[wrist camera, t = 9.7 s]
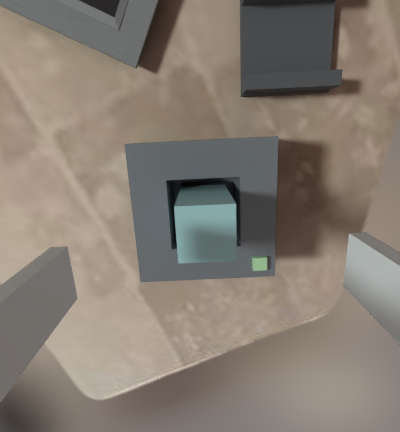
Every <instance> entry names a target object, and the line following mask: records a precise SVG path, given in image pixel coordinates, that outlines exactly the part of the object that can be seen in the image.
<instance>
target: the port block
mask: <svg viewBox="0 0 400 432" xmlns="http://www.w3.org/2000/svg"><path fill="white" fill-rule="evenodd" d="M125 151H126V160H127V168H128V177H129V186H130V194H131V203H132V211H133V220H134V228H135V237H136V246H137V254H138V263H139V271H140V280H141V282H154V281H176V280H197V279H219V278H241V277H263V276H275V246H276V209H277V172H278V136H275V137H253V138H233V139H213V140H193V141H172V142H152V143H133V144H125ZM206 181H224V183H225V184H226V187H227V189H228V191H229V192H230V194H231V196H232V198H233V199H234V201H235V203H236V237H237V261H224V262H201V263H179V264H178V254H177V241H176V227H175V213H174V205H175V203H176V200H177V197H178V194H179V192H180V189H181V184H182V183H185V182H206Z"/></svg>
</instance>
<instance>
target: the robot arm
mask: <svg viewBox="0 0 400 432" xmlns="http://www.w3.org/2000/svg"><path fill="white" fill-rule="evenodd" d="M343 286H344V287H345V288H346V289H347V290H348V291H349V292H350V293H351V294H352V296H353V297H354V298H355V299H357V301H358V302H359V303H360V304H361V305H362V306H363V307H364V308H365V309H366V310H367V311H368V312H369V313H370V314H371V315H372V316H373V317H374V318H375V319H376V320H377V321H378V323H380V325H381V326H382V327H383V328H384V329H385V330H386V331H387V332H388V333H389V334H390V335H391V336H392V337H393V338H394V339H395V340H396V341H397V342H398V343H399V344H400V252H399V251H396V250H395V249H393V248H392V247H390V246H388V245H386V244H385V243H383V242H381V241H379V240H378V239H376V238H374V237H373V236H371V235H369V234H367V233H366V232H364V233H349V239H348V248H347V257H346V266H345V275H344V284H343ZM76 299H77V293H76V288H75V283H74V278H73V273H72V268H71V263H70V258H69V253H68V248H67V247H51V248H49V249H48V250H47V251H45V252H44V253H43V254H41V255H40V256H39V257H37V258H36V259H35V260H34V261H32V262H31V263H30V264H28V265H27V266H26V267H24V268H23V269H22V270H20V271H19V272H18V273H16V274H15V275H14V276H13V277H11V278H10V279H9V280H7V281H6V282H5V283H3V284H2V285H1V286H0V402H1V401H2V399H3V398H4V397H5V395H6V394H7V393H8V391H9V390H10V388H11V387H12V386H13V385H14V383H15V382H16V380H17V379H18V378H19V376H20V375H21V374H22V372H23V371H24V370H25V368H26V367H27V366H28V364H29V363H30V362H31V360H32V359H33V358H34V356H35V355H36V353H37V352H38V351H39V349H40V348H41V347H42V345H43V344H44V343H45V341H46V340H47V339H48V337H49V336H50V335H51V333H52V332H53V331H54V329H55V328H56V326H57V325H58V324H59V322H60V321H61V320H62V318H63V317H64V316H65V314H66V313H67V312H68V310H69V309H70V308H71V306H72V305H73V304H74V302H75V301H76Z"/></svg>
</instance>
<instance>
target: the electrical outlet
mask: <svg viewBox="0 0 400 432" xmlns="http://www.w3.org/2000/svg"><path fill="white" fill-rule="evenodd" d="M158 2H159V0H0V6H2V7H4V8H7V9H9V10H11V11H13V12H15V13H17V14H19V15H22V16H24V17H26V18H28V19H30V20H32V21H35V22H37V23H39V24H41V25H43V26H45V27H48V28H50V29H52V30H54V31H56V32H58V33H61V34H63V35H65V36H67V37H69V38H71V39H74V40H76V41H78V42H80V43H82V44H84V45H87V46H89V47H91V48H93V49H95V50H97V51H100V52H102V53H104V54H106V55H108V56H110V57H113V58H115V59H117V60H119V61H121V62H123V63H126V64H128V65H130V66H132V67H134V68H136V69H137V66H138V63H139V60H140V57H141V54H142V51H143V48H144V45H145V42H146V39H147V36H148V33H149V30H150V27H151V24H152V21H153V17H154V14H155V11H156V8H157V5H158Z"/></svg>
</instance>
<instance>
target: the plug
mask: <svg viewBox="0 0 400 432" xmlns="http://www.w3.org/2000/svg"><path fill="white" fill-rule="evenodd" d="M174 213H175V227H176V241H177V254H178V264H179V263H201V262H224V261H237V237H236V203H235V201H234V199H233V198H232V196H231V194H230V192H229V191H228V189H227V187H226V184H225V183H224V181H206V182H185V183H182V184H181V189H180V192H179V194H178V197H177V200H176V203H175V205H174Z"/></svg>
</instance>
